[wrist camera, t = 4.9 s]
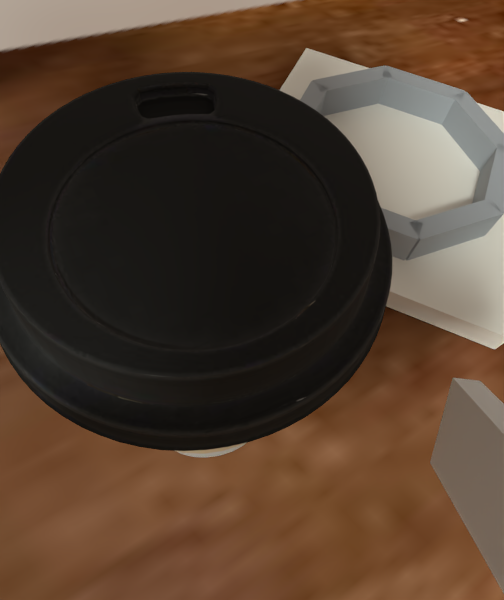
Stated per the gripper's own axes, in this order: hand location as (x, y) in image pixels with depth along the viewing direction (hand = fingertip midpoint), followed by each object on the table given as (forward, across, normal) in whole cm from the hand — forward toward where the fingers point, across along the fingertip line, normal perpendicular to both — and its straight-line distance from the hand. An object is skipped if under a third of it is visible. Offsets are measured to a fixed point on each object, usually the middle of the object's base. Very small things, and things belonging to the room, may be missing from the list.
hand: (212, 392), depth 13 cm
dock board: (+20, +8, +6) cm, 23 cm away
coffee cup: (+9, -1, -5) cm, 10 cm away
